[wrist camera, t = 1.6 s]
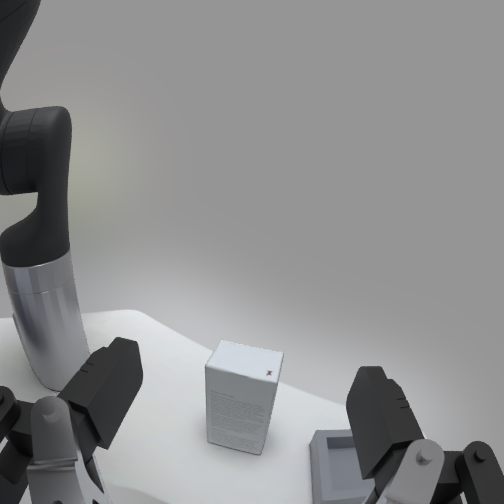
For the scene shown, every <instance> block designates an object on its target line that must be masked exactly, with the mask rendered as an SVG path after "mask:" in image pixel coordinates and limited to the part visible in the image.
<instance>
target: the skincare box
mask: <svg viewBox="0 0 504 504" xmlns="http://www.w3.org/2000/svg"><path fill="white" fill-rule="evenodd" d="M283 356H284V353H283V352H279V351H273V350H267V349H261V348H257V347H252V346H247V345H243V344H238V343H234V342H229V341H225V340H221V341H220V343H219V344H218V346H217V347H216V349H215V350H214V352H213V354H212V355H211V357H210V358H209V360H208V361H207V363H206V364H205V385H206V420H207V440H208V442H211V443H214V444H218V445H221V446H225V447H229V448H233V449H237V450H241V451H245V452H249V453H254V454H258V455H260V454H261V452H262V449H263V446H264V442H265V439H266V435H267V431H268V427H269V423H270V419H271V414H272V410H273V405H274V400H275V396H276V391H277V386H278V381H279V377H280V372H281V367H282V362H283Z"/></svg>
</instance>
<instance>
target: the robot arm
mask: <svg viewBox="0 0 504 504" xmlns="http://www.w3.org/2000/svg"><path fill="white" fill-rule="evenodd" d="M40 1H41V0H0V88H1V85H2V82H3V80H4V77H5V75H6V73H7V71H8V69H9V67H10V65H11V63H12V61H13V59H14V57H15V56H16V54H17V52H18V50H19V48H20V46H21V44H22V42H23V40H24V39H25V37H26V34H27V32H28V30H29V28H30V26H31V24H32V22H33V20H34V18H35V16H36V14H37V11H38V8H39V5H40ZM71 133H72V124H71V118H70V114H69V112H68V110H67V109H66V108H64V107H60V106H53V107H43V108H35V109H28V110H21V111H15V112H10V111H8V110H6V109H5V108H4V106H3V104H2V101H1V98H0V195H14V194H23V193H32V192H38V200H37V206H36V208H35V209H34V210H33V212H32V213H31V214H30V215H28V216H27V217H26V218H24V219H23V220H21V221H19V222H18V223H16V224H14V225H12V226H10V227H9V228H7V229H6V230H5V231H4V232H3V233H2V234H1V236H0V255H1V260H2V266H3V270H4V275H5V280H6V284H7V288H8V293H9V296H10V300H11V304H12V307H13V311H14V313H13V319H14V323H15V326H16V329H17V332H18V334H19V337H20V340H21V343H22V345H23V348H24V351H25V353H26V356H27V358H28V361H29V363H30V365H31V368H32V370H33V371H34V372H36V374H37V376H38V378H39V380H40V382H41V383H42V384H43V385H44V386H46V387H47V388H49V389H52V390H56V391H61V392H60V393H59V395H58V396H57V397H53V396H48V397H44V398H41V399H39V400H38V401H37V402H36V403H35V404H34V403H29V402H24V401H20V400H16V398H15V396H14V394H13V393H12V391H11V390H10V389H9V388H7V387H4V386H0V443H1V441H2V440H3V439H4V437H6V438H7V440H8V442H7V443H6V445H5V447H4V448H3V450H2V451H1V453H0V504H19V502H20V500H21V498H22V496H23V494H24V492H25V490H26V488H27V485H28V484H29V490H30V496H31V501H32V504H113V503H112V502H111V500H110V498H109V496H108V493H107V490H106V488H105V485H104V482H103V479H102V476H101V473H100V470H99V467H98V464H97V461H96V457H95V454H94V450H95V449H96V447H97V446H99V447H102V448H104V449H107V450H108V448H109V446H110V444H111V442H112V440H113V438H114V436H115V435H116V433H117V431H118V429H119V427H120V425H121V423H122V421H123V419H124V417H125V415H126V413H127V412H128V410H129V408H130V406H131V404H132V402H133V400H134V398H135V396H136V395H137V393H138V391H139V389H140V387H141V385H142V381H143V370H142V364H141V358H140V352H139V346H138V343H137V342H136V341H133V340H129V339H125V338H121V337H116V338H115V339H114V340H113V342H112V343H111V344H110V345H109V347H108V348H107V347H102V348H100V349H99V350H97V351H95V352H93V353H92V354H91V355H90V352H89V348H88V344H87V340H86V336H85V332H84V328H83V323H82V319H81V314H80V309H79V304H78V299H77V293H76V287H75V282H74V275H73V268H72V261H71V252H70V243H69V231H68V207H67V191H68V190H67V189H68V172H69V160H70V150H71V137H72V134H71ZM346 410H347V415H348V419H349V423H350V427H351V431H352V435H353V439H354V444H355V448H356V452H357V457H358V461H359V466H360V471H361V475H362V480H366V479H372V478H374V482H375V485H374V486H373V487H372V488H371V490H370V492H369V493H368V495H367V496H366V498H365V500H364V501H363V503H362V504H463V503H462V499H461V496H460V494H461V493H462V492H464V494H465V497H466V501H467V504H504V475H503V473H502V471H501V468H500V466H499V464H498V461H497V459H496V457H495V455H494V453H493V451H492V449H491V447H490V446H489V445H487V444H486V443H484V442H481V441H475V442H472V443H470V444H469V445H468V446H467V447H466V448H465V449H464V450H463V451H443V450H442V448H441V447H440V446H439V445H438V444H437V443H436V442H434V441H431V440H428V439H425V438H424V436H423V434H422V432H421V429H420V427H419V425H418V423H417V420H416V418H415V416H414V414H413V412H412V409H411V408H410V406H409V403H408V401H407V400H406V397H405V395H404V393H403V391H402V389H401V387H400V386H399V385H398V384H396V382H395V381H394V380H393V379H387V377H386V375H385V373H384V371H383V369H382V367H380V366H367V367H366V366H362V367H360V368H359V370H358V372H357V374H356V377H355V379H354V382H353V384H352V387H351V389H350V391H349V394H348V396H347V401H346Z"/></svg>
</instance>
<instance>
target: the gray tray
mask: <svg viewBox="0 0 504 504" xmlns="http://www.w3.org/2000/svg"><path fill="white" fill-rule="evenodd" d="M309 445H310V459H311V474H312V492H313V504H362V503H363V501H364V500H365V498H366V496H367V495H368V493H369V492H370V490H371V488H372V487H373V486H374V485H375V482H374V478H372V479H366V480H362V475H361V471H360V466H359V461H358V457H357V452H356V448H355V444H354V439H353V435H352V431H351V429H349V430H316V432H315V434H314V436H313V438H312V440H311V442H310V444H309Z"/></svg>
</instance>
